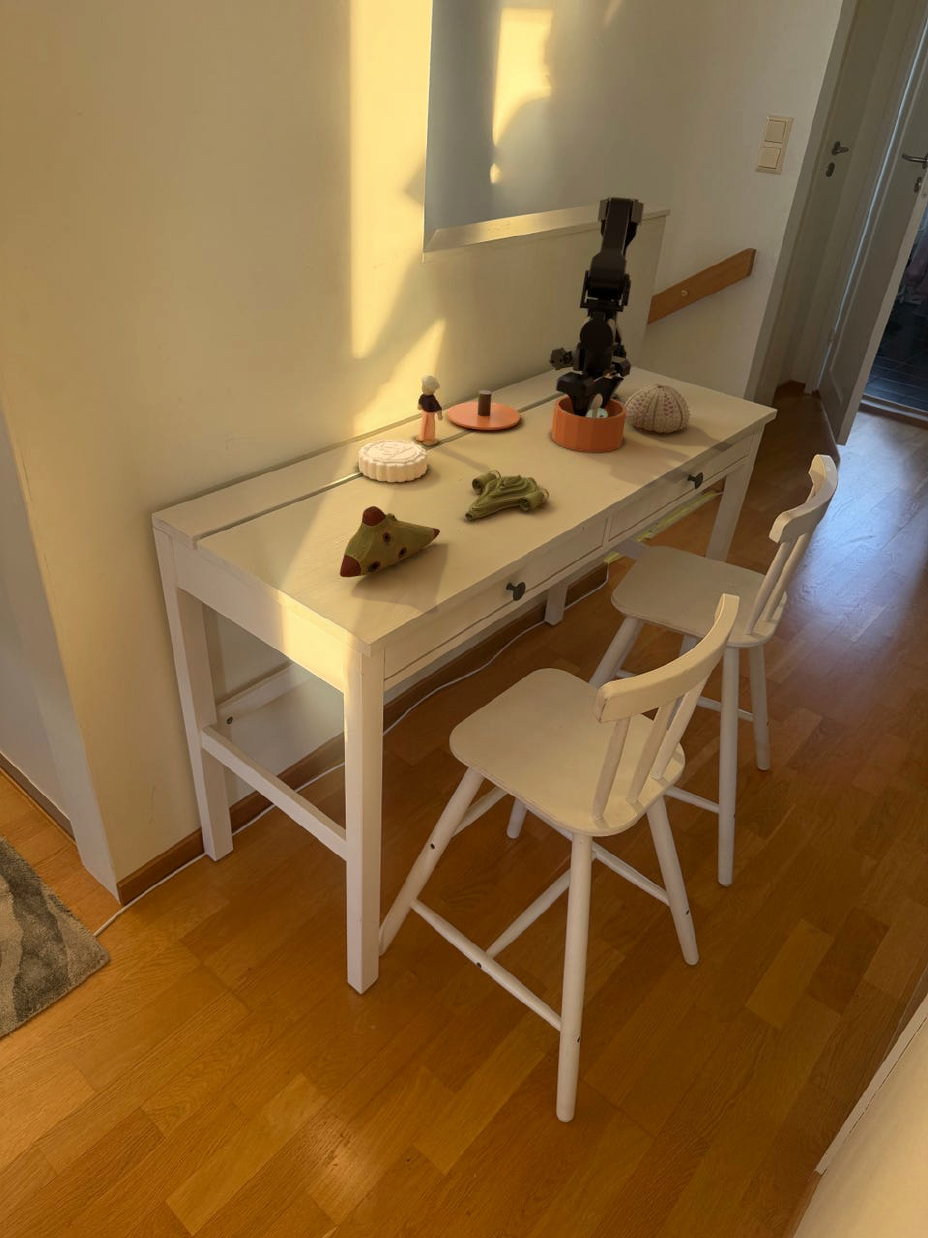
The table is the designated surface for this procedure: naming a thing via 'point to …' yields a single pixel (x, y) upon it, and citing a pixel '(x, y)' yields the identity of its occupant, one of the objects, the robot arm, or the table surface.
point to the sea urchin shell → (657, 409)
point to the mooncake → (392, 460)
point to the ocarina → (382, 543)
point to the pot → (588, 427)
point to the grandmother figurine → (428, 410)
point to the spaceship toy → (504, 494)
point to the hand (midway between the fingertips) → (588, 418)
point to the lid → (483, 414)
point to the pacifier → (597, 408)
